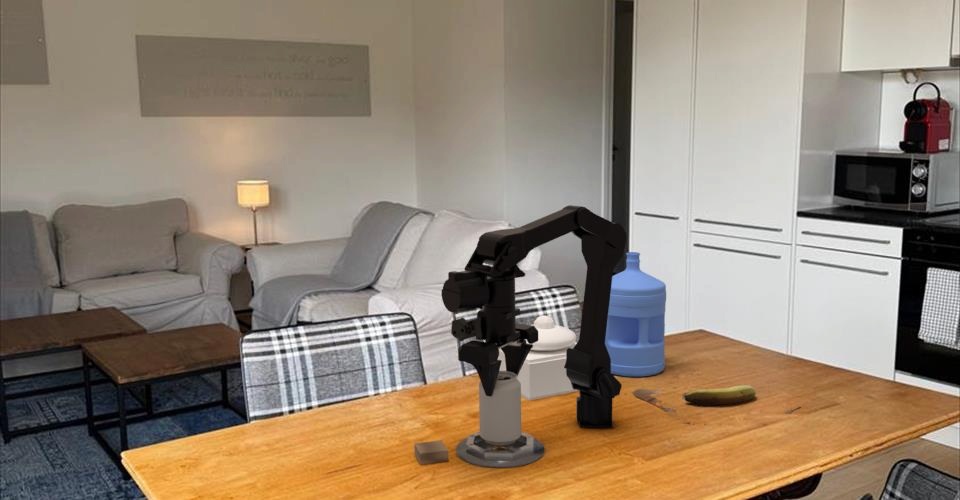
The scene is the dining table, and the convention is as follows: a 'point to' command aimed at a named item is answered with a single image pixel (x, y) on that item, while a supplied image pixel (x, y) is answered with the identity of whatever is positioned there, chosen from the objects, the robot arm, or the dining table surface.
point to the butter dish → (545, 361)
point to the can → (501, 410)
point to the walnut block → (431, 452)
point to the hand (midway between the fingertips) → (500, 389)
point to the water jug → (636, 322)
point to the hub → (500, 451)
